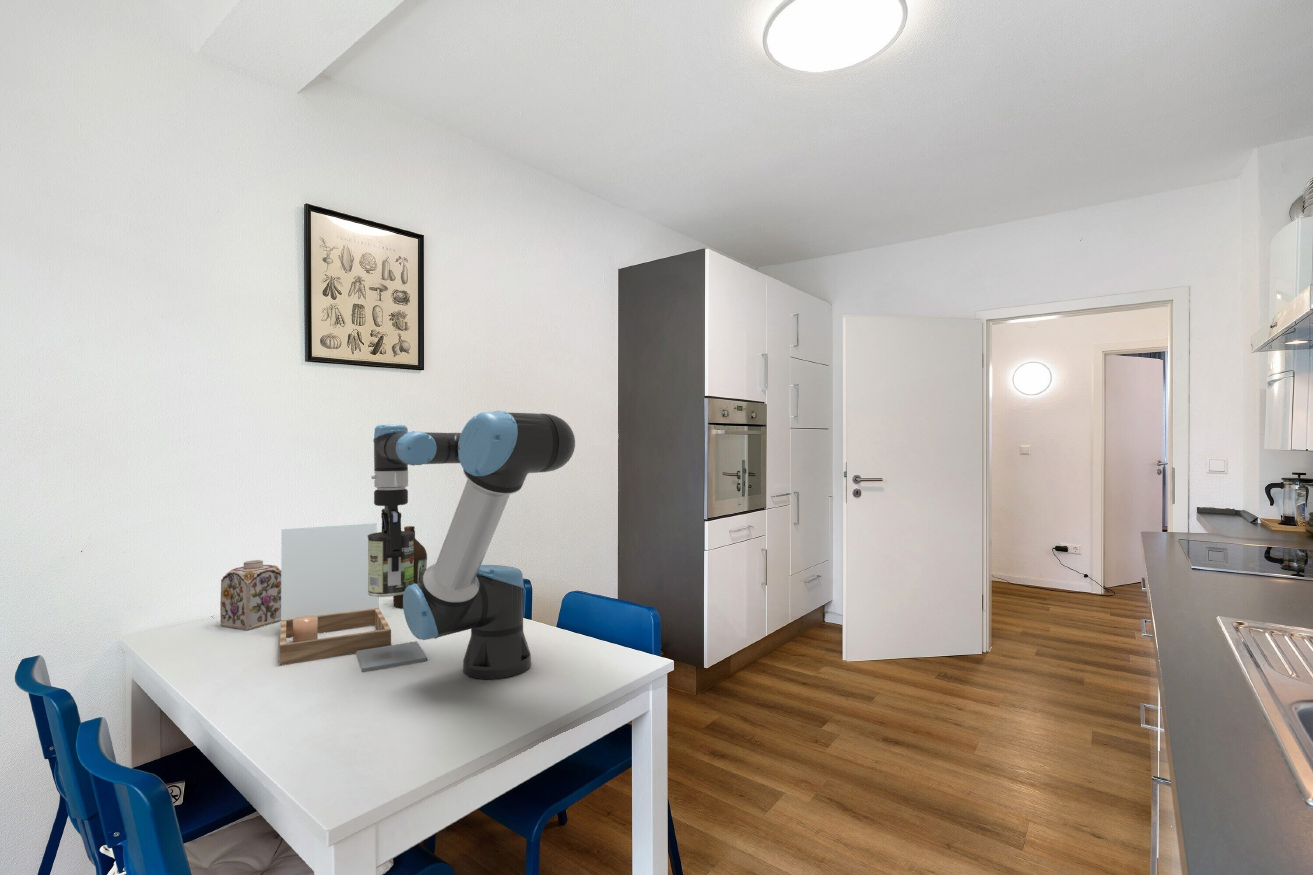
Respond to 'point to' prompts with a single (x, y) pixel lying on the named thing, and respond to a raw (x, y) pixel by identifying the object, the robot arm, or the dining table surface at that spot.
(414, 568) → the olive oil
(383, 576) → the coffee can
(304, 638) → the pink pillar candle
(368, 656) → the plate
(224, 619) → the decorative jar
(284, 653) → the open wooden box
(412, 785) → the dining table surface
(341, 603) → the pale grey square panel
